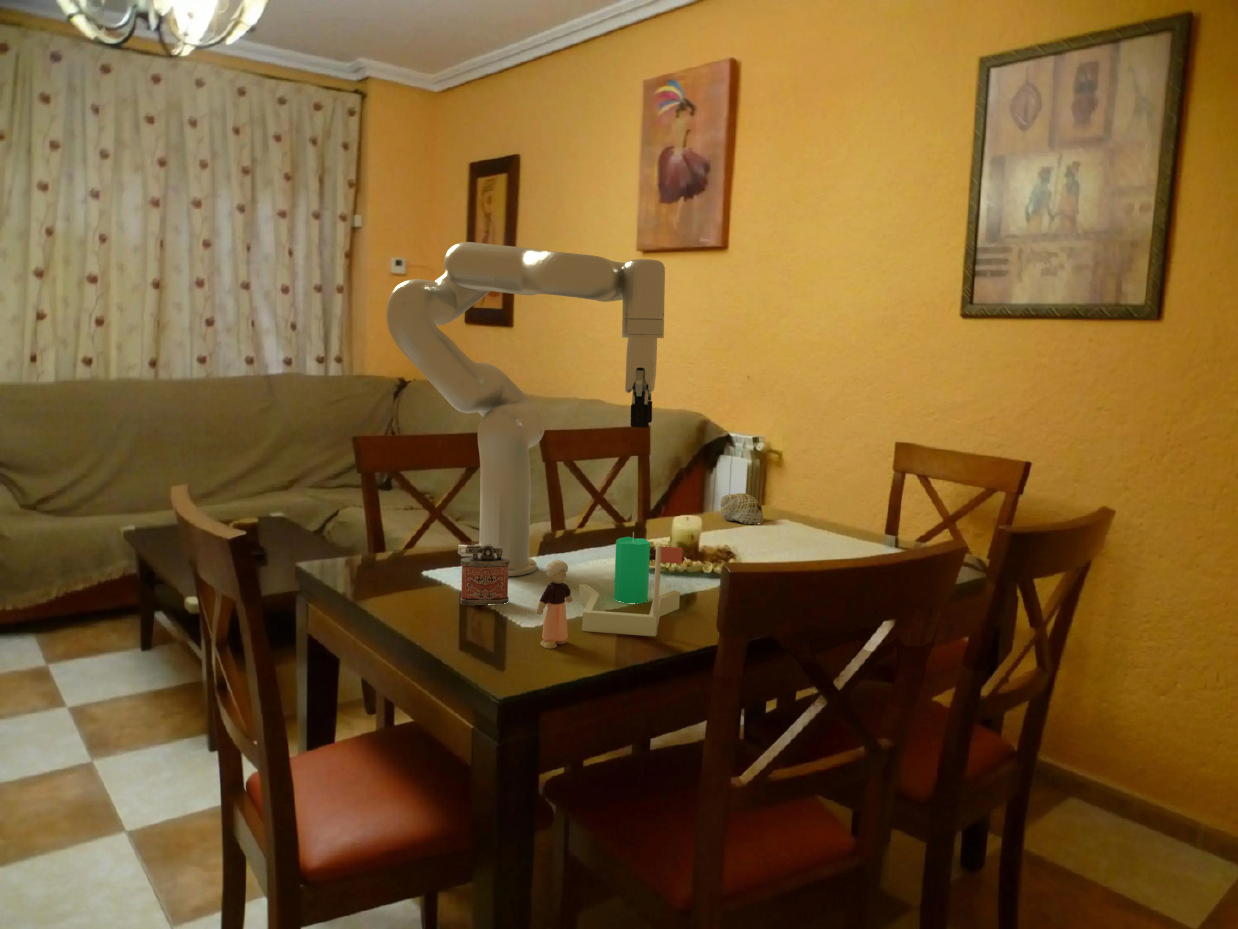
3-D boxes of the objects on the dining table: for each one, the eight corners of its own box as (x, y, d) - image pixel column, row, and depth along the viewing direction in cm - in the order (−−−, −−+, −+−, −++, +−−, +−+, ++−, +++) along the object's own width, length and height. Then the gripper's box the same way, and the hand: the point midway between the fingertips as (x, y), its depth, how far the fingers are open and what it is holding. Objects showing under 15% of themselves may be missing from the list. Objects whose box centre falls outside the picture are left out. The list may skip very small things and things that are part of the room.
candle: (644, 605, 154) (647, 537, 153) (610, 602, 156) (613, 534, 154) (650, 596, 160) (653, 529, 159) (617, 592, 161) (620, 527, 160)
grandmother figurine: (554, 652, 130) (557, 567, 128) (531, 648, 132) (533, 563, 130) (578, 637, 137) (581, 555, 135) (556, 633, 139) (558, 552, 137)
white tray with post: (563, 629, 140) (566, 541, 138) (579, 600, 156) (582, 520, 154) (677, 638, 139) (682, 549, 137) (682, 608, 154) (686, 527, 152)
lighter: (508, 599, 155) (509, 542, 154) (509, 605, 152) (510, 547, 150) (460, 599, 154) (461, 542, 152) (460, 605, 150) (461, 547, 149)
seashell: (772, 522, 226) (759, 487, 223) (740, 540, 225) (725, 505, 221) (754, 511, 236) (741, 478, 233) (723, 529, 234) (709, 496, 231)
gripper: (626, 330, 172) (625, 420, 174) (617, 329, 155) (616, 428, 157) (665, 330, 171) (664, 420, 173) (661, 329, 154) (659, 429, 156)
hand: (641, 424), depth 165 cm, fingers open, 9 cm apart
